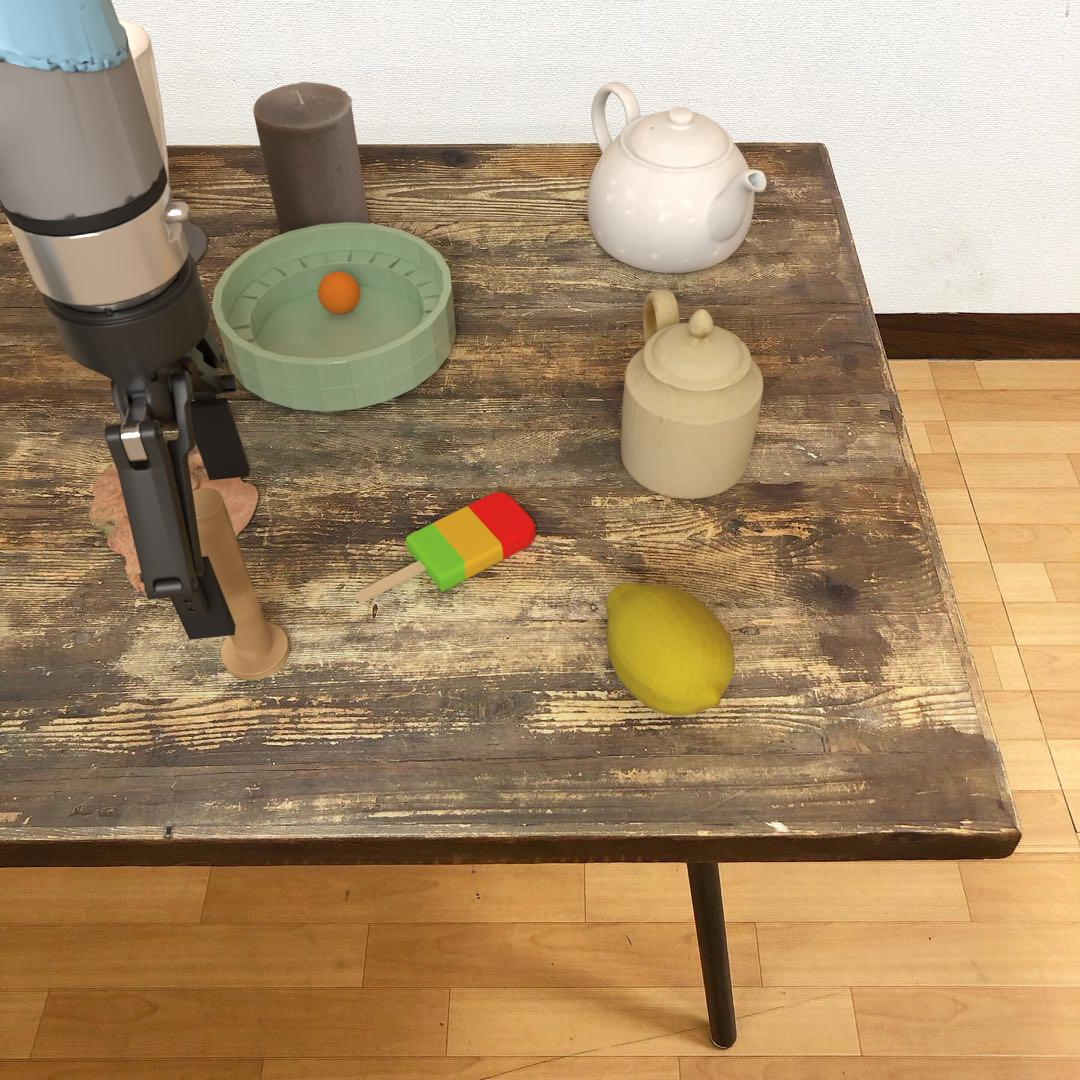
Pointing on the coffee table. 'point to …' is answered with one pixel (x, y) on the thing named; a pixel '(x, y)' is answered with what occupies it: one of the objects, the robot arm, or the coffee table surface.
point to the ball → (338, 292)
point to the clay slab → (115, 522)
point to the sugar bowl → (688, 404)
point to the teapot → (668, 188)
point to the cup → (158, 115)
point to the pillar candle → (311, 155)
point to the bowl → (335, 317)
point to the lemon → (668, 648)
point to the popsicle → (463, 544)
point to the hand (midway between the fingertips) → (221, 549)
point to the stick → (238, 595)
